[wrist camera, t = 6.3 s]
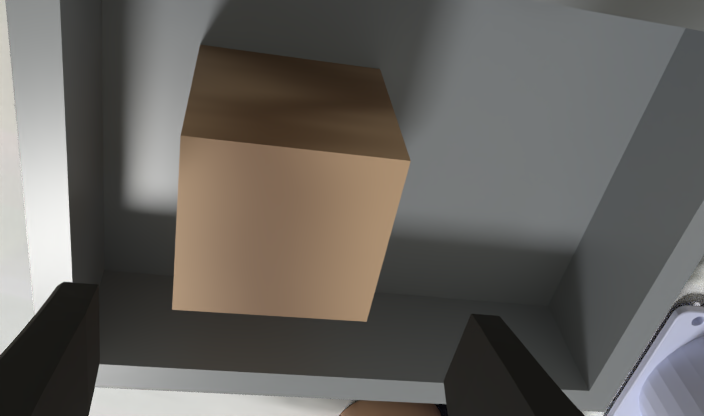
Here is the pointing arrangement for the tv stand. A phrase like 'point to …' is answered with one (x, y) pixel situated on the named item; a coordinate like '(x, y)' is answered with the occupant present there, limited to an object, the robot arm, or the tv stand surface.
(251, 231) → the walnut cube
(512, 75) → the tote
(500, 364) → the robot arm
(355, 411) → the terracotta cylinder
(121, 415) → the tv stand surface
